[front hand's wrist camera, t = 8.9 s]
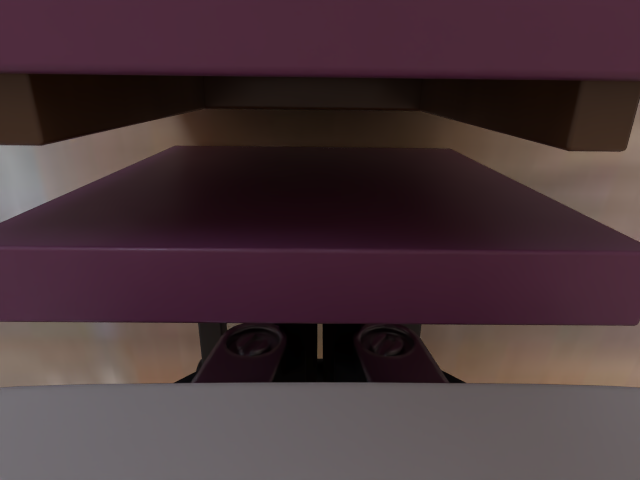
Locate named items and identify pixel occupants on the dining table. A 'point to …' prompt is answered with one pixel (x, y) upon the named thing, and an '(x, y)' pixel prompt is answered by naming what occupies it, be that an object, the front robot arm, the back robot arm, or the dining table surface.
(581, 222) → the drawer
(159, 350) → the dining table surface
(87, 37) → the cabinet
